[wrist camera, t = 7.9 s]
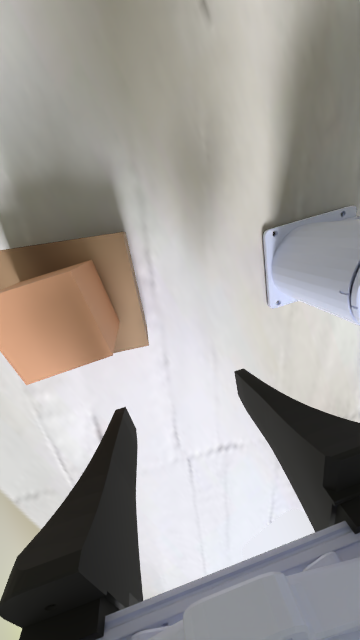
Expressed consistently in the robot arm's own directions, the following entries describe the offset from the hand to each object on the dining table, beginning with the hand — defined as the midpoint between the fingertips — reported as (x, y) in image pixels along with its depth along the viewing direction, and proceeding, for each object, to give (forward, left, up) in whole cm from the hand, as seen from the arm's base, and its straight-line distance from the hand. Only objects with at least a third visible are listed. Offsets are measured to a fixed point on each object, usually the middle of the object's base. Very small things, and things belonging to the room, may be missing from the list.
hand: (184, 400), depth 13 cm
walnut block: (+6, -6, -10) cm, 13 cm away
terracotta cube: (+6, -7, -6) cm, 11 cm away
